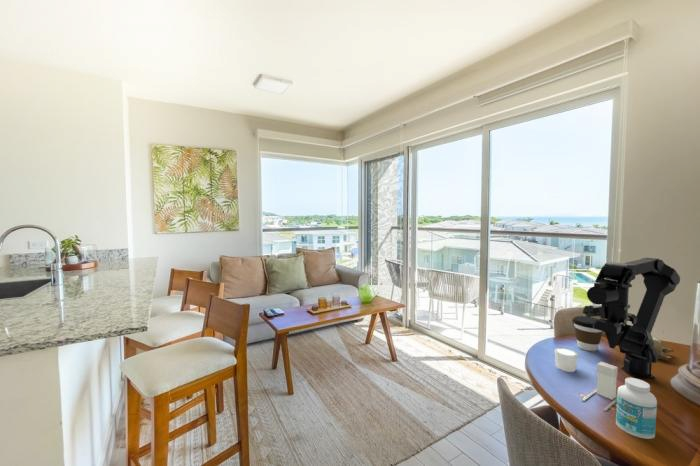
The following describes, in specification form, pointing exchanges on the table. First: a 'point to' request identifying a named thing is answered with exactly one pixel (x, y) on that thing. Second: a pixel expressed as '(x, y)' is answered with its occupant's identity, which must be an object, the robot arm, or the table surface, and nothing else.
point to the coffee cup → (586, 333)
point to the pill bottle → (636, 409)
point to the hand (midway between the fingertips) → (614, 346)
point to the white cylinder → (566, 359)
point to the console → (606, 406)
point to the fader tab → (606, 380)
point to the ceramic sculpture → (661, 349)
